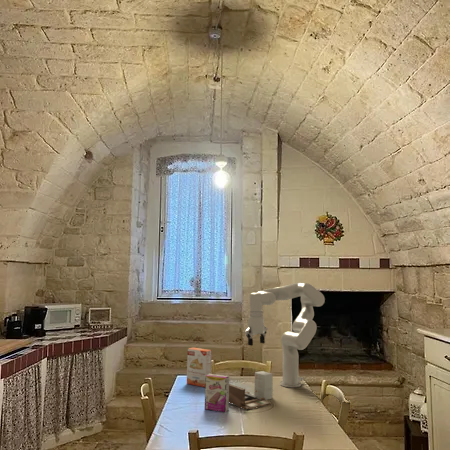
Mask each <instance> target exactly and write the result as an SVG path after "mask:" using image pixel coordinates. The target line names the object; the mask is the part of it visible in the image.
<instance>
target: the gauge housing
mask: <svg viewBox="0 0 450 450" xmlns="http://www.w3.org/2000/svg"><path fill="white" fill-rule="evenodd" d="M245 392H246V393H248V394H250V392H249V391H246V389H245V388H243V387H239V386H237V385H234V384H231V383H229V402H230V403H233V404H235V405H237V406H236V407H238V406H239V408H240V407H242V408H241V409H243V408H244V409H243V410H245V409H250V410H253V409H252V408H254V409H257V408H256V407H258V408H261V407H260V406H263V407H266V406H265V405H267V406H270V405H272V404H271V401H270V400H265V398H264V397H263V398H258V399H261V400H262V401H260V400H257V399H254V400H246V401H245ZM230 403H229V404H230ZM233 404H232V405H233ZM235 405H234V406H235Z"/></svg>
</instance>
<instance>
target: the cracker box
mask: <svg viewBox="0 0 450 450" xmlns="http://www.w3.org/2000/svg"><path fill="white" fill-rule="evenodd" d="M186 359H187V360H186V385H192V386H197V387H202V388H205V380H206V375H208V374H212V349H206V348H201V347H188V348H187V357H186Z"/></svg>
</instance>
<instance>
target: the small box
mask: <svg viewBox="0 0 450 450" xmlns="http://www.w3.org/2000/svg"><path fill="white" fill-rule="evenodd" d="M273 375H274V374H273V373H271V372H267V371H263V370H262V371H255V372H254V396H257V398H263V397H264V398H265V400H267V401H269V400H270V399H274V397H273V395H274V393H273V391H274V389H273V387H274V380H273V379H274V378H273Z"/></svg>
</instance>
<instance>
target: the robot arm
mask: <svg viewBox="0 0 450 450" xmlns="http://www.w3.org/2000/svg"><path fill="white" fill-rule="evenodd" d="M298 297H300V303H301V310H300V312H299V314H298V315H297V316H296V318H295V319H294V320H293V323H292V325H291V329H292V331H291V330H290V331H285V332H283V333H282V335H281V339H280V342H281V347H282V380H281V381H280V382H279V384H280V386H281V387H285V388H300V387H302V383H301V381H304V377H303V376H299V366H300V365H299V356H300V355H299V352H298V350H299V351H302V350H304V349H306V348H307V347H308V345H309V344H310V343H311V341H312V339H313V338H314V336H315V335H316V333H317V323H316V322H315V321H314V320H313V319H314V316H315V311H314V307H317V308H318V307H322V306H323V305H324V304H325V303H326V302H325V300H326V298H325V295H324V294H323V293H322V292H321V291H320V290H319V289H317V288H315V286H314V285H312V284H311V283H308V282H295V283H290V284H287V285H283V286H278V287H272V288H271V287H270V288H266V289H262V290H259V291H257V292H251V293H250V294H249V316H248V319H247V328H246V330H245V331H244V333H245V336H246V337H247V346H253V344H254V340H253V339H254V338H253V336H255V335H260V336H259V344H264V345H265V342H266V341H265V339H266V338H265V337H266V335H267V333H268V332H267V331H268V327H266V326H265V318H264V316H263V315H264V311H263V309H264V307H263V305H267V306H271V305H274V304H275V303H276V301H288V300H292V299H295V298H298Z"/></svg>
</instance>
